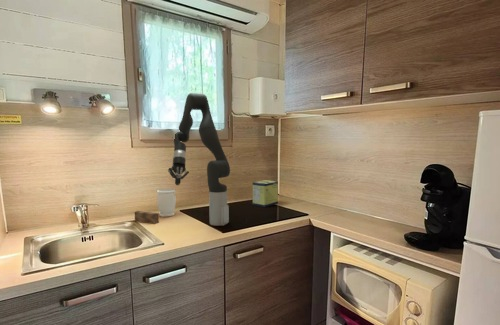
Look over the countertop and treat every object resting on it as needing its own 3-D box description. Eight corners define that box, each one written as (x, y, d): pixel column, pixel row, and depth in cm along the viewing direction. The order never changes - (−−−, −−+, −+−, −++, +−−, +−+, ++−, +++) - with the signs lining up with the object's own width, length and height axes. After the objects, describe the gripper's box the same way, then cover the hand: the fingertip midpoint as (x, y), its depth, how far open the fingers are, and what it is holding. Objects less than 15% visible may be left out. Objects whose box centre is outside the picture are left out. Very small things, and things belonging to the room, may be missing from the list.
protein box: (278, 203, 188) (278, 181, 187) (264, 207, 177) (264, 183, 176) (266, 201, 195) (266, 179, 194) (252, 205, 184) (252, 182, 182)
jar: (178, 213, 164) (178, 188, 163) (172, 217, 154) (171, 191, 153) (161, 212, 165) (161, 188, 164) (154, 217, 155) (153, 191, 154)
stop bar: (158, 222, 145) (158, 213, 145) (155, 223, 143) (155, 214, 143) (138, 219, 150) (137, 210, 150) (134, 220, 148) (134, 211, 148)
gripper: (170, 153, 162) (168, 180, 154) (191, 158, 168) (190, 184, 160) (166, 159, 167) (164, 185, 160) (187, 163, 174) (186, 188, 166)
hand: (177, 184), depth 160 cm, fingers closed
